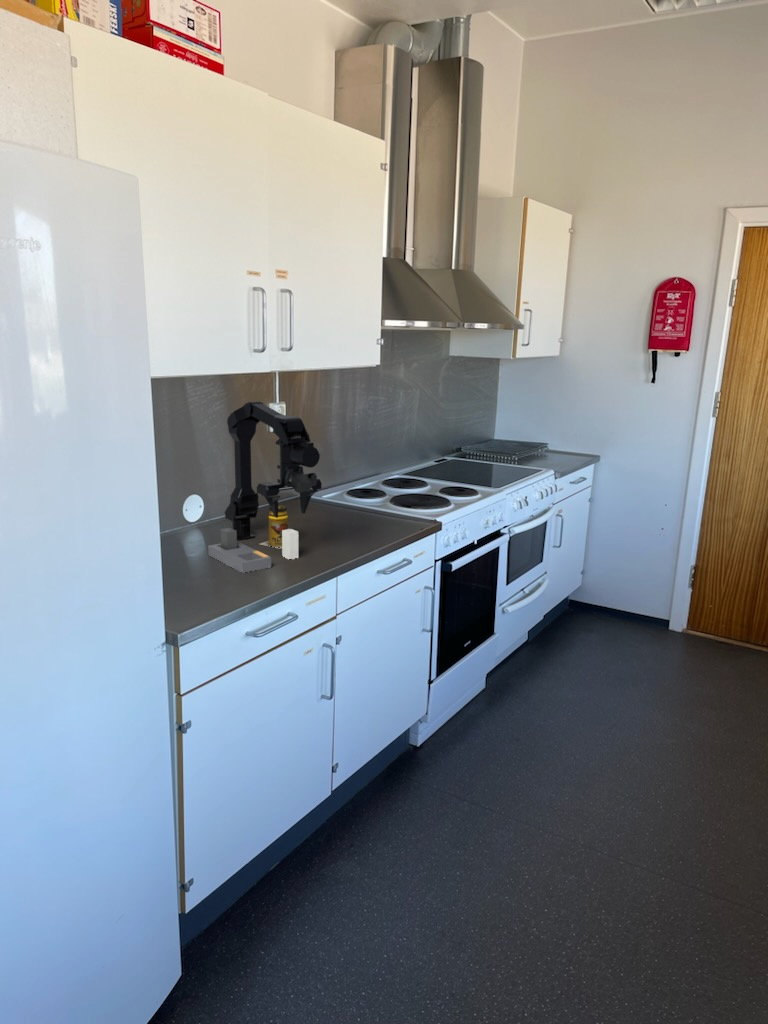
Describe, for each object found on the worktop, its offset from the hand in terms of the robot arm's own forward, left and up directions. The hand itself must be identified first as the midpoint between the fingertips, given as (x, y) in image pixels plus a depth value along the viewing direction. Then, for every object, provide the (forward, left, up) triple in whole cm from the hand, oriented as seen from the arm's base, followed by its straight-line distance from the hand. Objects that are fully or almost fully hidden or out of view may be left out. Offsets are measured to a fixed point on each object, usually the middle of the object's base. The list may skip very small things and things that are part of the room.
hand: (290, 515), depth 214 cm
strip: (-5, -14, -13) cm, 19 cm away
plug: (0, 0, -13) cm, 13 cm away
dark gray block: (-11, -14, -13) cm, 22 cm away
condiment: (-14, +4, -13) cm, 19 cm away
